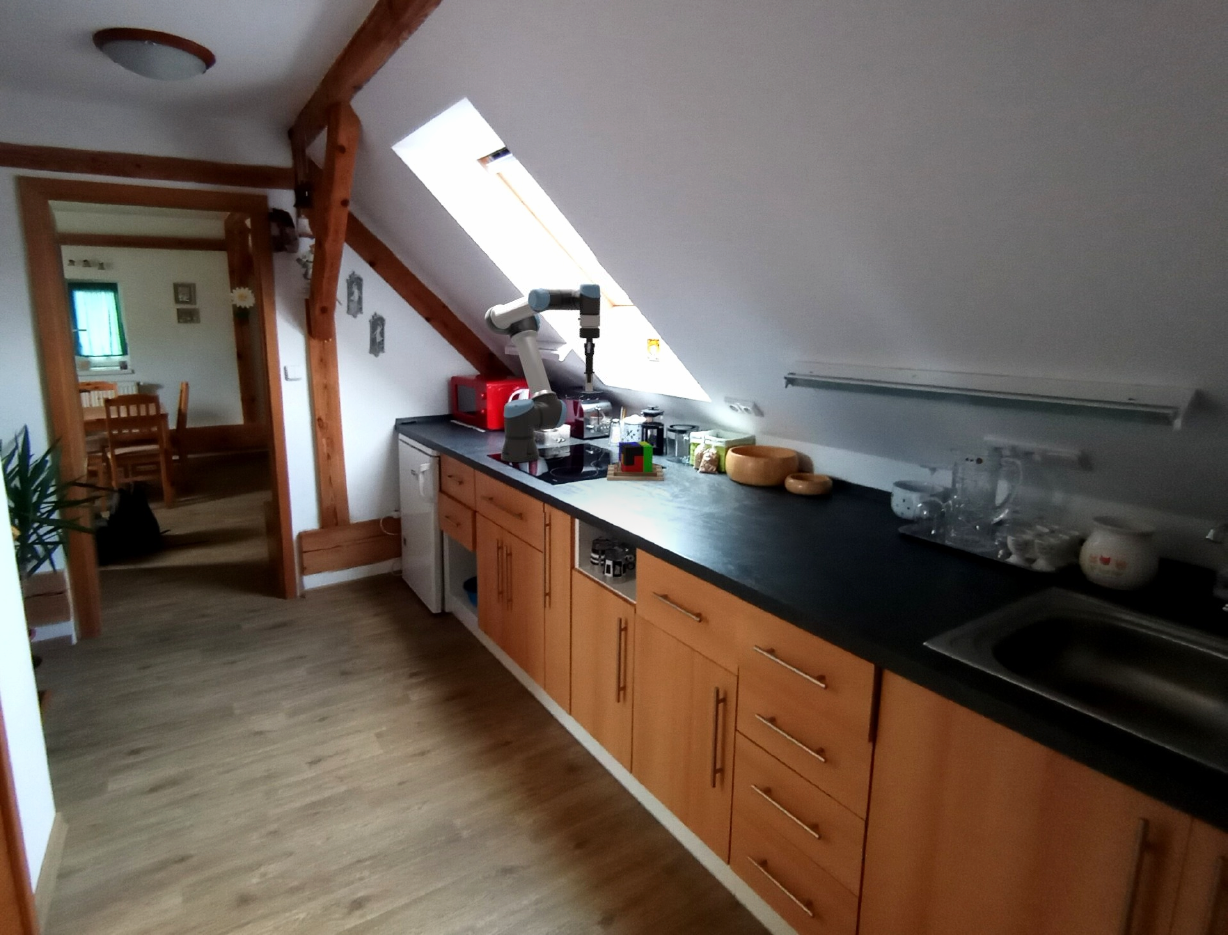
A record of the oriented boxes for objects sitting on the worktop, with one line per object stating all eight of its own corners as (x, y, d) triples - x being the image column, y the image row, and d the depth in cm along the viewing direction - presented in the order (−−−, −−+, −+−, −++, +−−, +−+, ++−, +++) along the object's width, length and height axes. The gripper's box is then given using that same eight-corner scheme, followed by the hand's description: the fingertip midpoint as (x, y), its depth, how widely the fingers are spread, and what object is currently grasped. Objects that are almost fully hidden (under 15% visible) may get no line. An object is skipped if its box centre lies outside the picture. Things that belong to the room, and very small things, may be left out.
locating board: (608, 467, 265) (608, 462, 265) (661, 468, 265) (661, 462, 264) (606, 480, 246) (606, 474, 245) (663, 480, 245) (663, 474, 245)
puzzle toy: (618, 468, 259) (618, 442, 256) (644, 467, 261) (645, 441, 259) (625, 474, 249) (625, 447, 247) (652, 473, 251) (652, 446, 249)
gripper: (580, 326, 263) (580, 388, 268) (578, 327, 250) (578, 393, 255) (600, 326, 263) (599, 389, 268) (599, 328, 250) (598, 393, 255)
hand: (589, 391), depth 262 cm, fingers closed
